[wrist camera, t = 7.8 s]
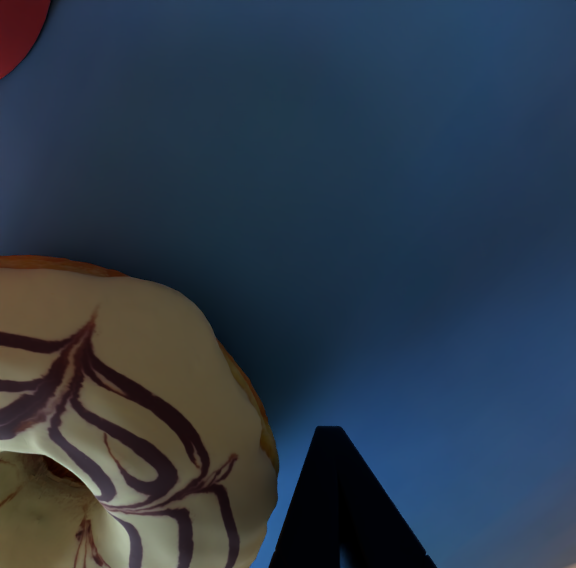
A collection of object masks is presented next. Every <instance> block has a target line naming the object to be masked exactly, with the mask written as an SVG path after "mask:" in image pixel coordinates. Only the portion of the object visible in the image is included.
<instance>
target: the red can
mask: <svg viewBox="0 0 576 568" xmlns="http://www.w3.org/2000/svg"><path fill="white" fill-rule="evenodd" d="M50 2H51V0H0V79H2V78H3V77H4V76H6V75H7V74H9V73H10V72H11V71H13V70H14V69H15V67H16V66H17V65H18V64H19V63H20V62H21V61H22V60H23V59H24V58H25V57H26V55H27V54H28V52H29V51H30V49H31V48H32V46H33V45H34V43H35V42H36V40H37V38H38V36H39V33H40V31H41V29H42V27H43V24H44V22H45V20H46V16H47V13H48V9H49V6H50Z"/></svg>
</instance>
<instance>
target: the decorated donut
mask: <svg viewBox="0 0 576 568" xmlns="http://www.w3.org/2000/svg"><path fill="white" fill-rule="evenodd" d="M278 473H279V457H278V452H277V449H276V442H275V439H274V436H273V433H272V430H271V427H270V425H269V424H268V417H267V416H266V413H265V409H264V406H263V403H262V402H261V400H260V398H259V396H258V394H257V393H256V391H255V389H254V388H253V386H252V384H251V381H250V379H249V378H248V377H247V376H246V374H245V373H244V372H243V371H242V369H241V368H240V367H239V366H238V365H237V363H236V362H235V361H234V359H233V357H232V356H231V355H230V354H229V353H228V352H227V351H226V349H225V348H224V346H223V345H222V344H221V343H220V342H219V341H218V339H217V338H216V337H215V335H214V332H213V329H212V327H211V325H210V323H209V322H208V320H207V319H206V317H205V316H204V314H203V312H202V311H201V310H200V309H199V308H198V307H197V306H196V304H195V303H193V302H192V301H191V300H189V299H188V298H187V297H185V296H184V295H183V294H182V293H180V292H179V291H177V290H175V289H172V288H170V287H168V286H165V285H163V284H159V283H156V282H152V281H148V280H142V279H138V278H133V277H130V276H128V275H126V274H124V273H121V272H119V271H117V270H113V269H106V268H104V267H100V266H97V265H94V264H91V263H86V262H80V261H73V260H69V259H66V258H56V257H49V256H38V255H11V256H0V568H249V567H250V565H251V564H252V562H253V561H254V560H255V559H256V556H257V554H258V552H259V549H260V547H261V544H262V542H263V540H264V538H265V535H266V532H267V521H268V519H269V517H270V515H271V513H272V511H273V510H274V508H275V507H276V504H277V501H278V493H277V477H278Z"/></svg>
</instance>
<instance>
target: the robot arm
mask: <svg viewBox="0 0 576 568" xmlns="http://www.w3.org/2000/svg"><path fill="white" fill-rule="evenodd" d="M269 568H437V567H436V565H435V564H434V562H433V561H432V559H431V558H430V556H429V555H426V551H425V549H424V548H423V546H422V545H421V543H420V542H419V540H418V539H417V537H416V536H415V534H414V533H413V531H412V530H411V528H410V527H409V525H408V524H407V523H406V521H405V520H404V518H403V517H402V515H401V514H400V512H399V511H398V509H397V508H396V506H395V505H394V503H393V502H392V500H391V499H390V497H389V496H388V495H387V493H386V492H385V490H384V489H383V487H382V486H381V484H380V483H379V481H378V480H377V478H376V477H375V475H374V474H373V472H372V471H371V469H370V468H369V466H368V465H367V464H366V462H365V461H364V459H363V458H362V456H361V455H360V453H359V452H358V450H357V449H356V447H355V446H354V444H353V443H352V441H351V440H350V438H349V437H348V435H347V434H346V433H345V431H344V430H343V428H342V427H340V426H317V427H316V429H315V432H314V435H313V438H312V441H311V444H310V447H309V450H308V453H307V456H306V459H305V462H304V465H303V468H302V471H301V474H300V477H299V480H298V482H297V485H296V488H295V491H294V494H293V497H292V500H291V503H290V506H289V509H288V512H287V515H286V518H285V521H284V524H283V527H282V530H281V533H280V536H279V539H278V542H277V545H276V548H275V552H274V553H273V556H272V559H271V562H270V565H269Z"/></svg>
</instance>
